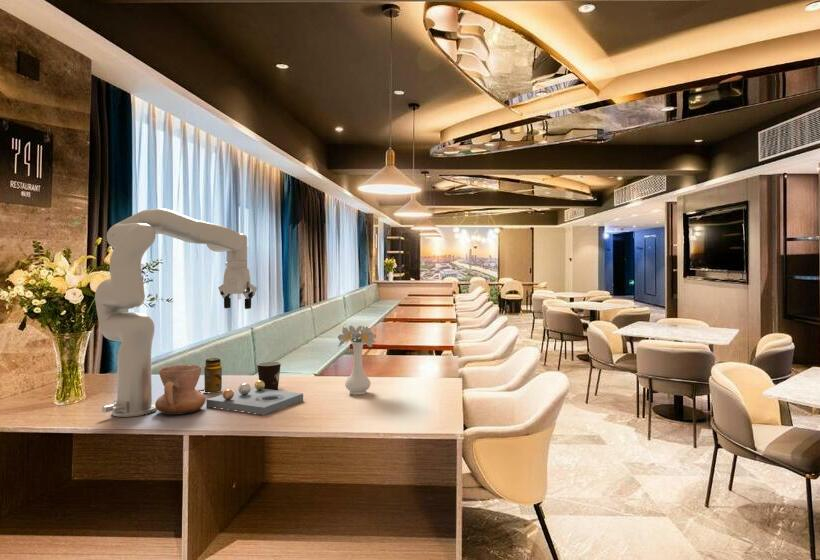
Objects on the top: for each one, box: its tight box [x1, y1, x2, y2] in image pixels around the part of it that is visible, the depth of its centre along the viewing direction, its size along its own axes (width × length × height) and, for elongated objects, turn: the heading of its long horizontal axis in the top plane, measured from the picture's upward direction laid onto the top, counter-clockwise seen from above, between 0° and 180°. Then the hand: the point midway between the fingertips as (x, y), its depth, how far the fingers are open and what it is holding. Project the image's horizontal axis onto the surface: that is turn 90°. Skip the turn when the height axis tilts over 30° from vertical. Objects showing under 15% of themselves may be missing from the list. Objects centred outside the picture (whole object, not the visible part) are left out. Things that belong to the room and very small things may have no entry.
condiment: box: [196, 357, 223, 393], centre depth 188 cm, size 7×8×12 cm
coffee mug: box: [256, 361, 282, 391], centre depth 191 cm, size 12×9×10 cm
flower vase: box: [337, 325, 377, 396], centre depth 186 cm, size 13×18×25 cm
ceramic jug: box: [154, 363, 206, 415], centre depth 160 cm, size 18×14×14 cm
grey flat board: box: [206, 386, 304, 416], centre depth 170 cm, size 24×20×2 cm
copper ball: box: [222, 388, 234, 400], centre depth 166 cm, size 4×4×4 cm
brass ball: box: [254, 379, 265, 390], centre depth 179 cm, size 4×4×4 cm
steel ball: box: [238, 382, 252, 395], centre depth 172 cm, size 4×4×4 cm
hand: (237, 308), depth 199 cm, fingers open, 9 cm apart
